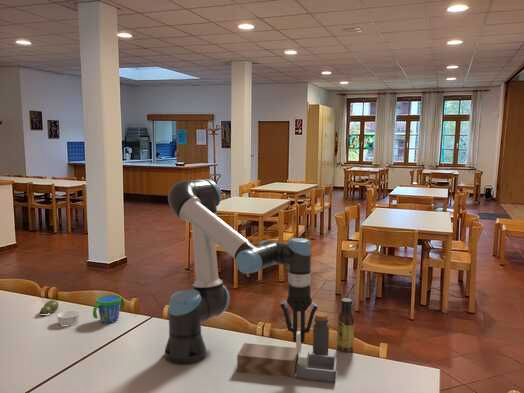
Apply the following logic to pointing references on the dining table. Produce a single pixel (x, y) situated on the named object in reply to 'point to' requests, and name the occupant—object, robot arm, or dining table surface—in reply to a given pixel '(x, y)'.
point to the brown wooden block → (267, 360)
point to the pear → (49, 307)
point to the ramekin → (68, 317)
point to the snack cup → (108, 307)
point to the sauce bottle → (345, 327)
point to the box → (318, 369)
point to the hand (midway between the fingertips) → (298, 350)
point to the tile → (304, 359)
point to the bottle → (320, 334)
